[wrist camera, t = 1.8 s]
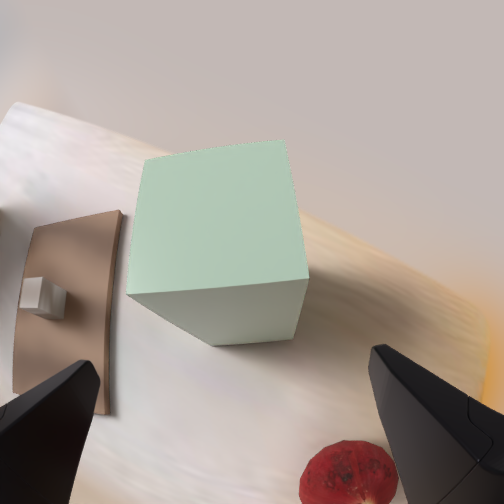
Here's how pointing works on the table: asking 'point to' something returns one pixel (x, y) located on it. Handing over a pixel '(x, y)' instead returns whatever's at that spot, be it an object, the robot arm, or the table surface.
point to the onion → (349, 475)
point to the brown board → (67, 301)
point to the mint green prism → (220, 244)
